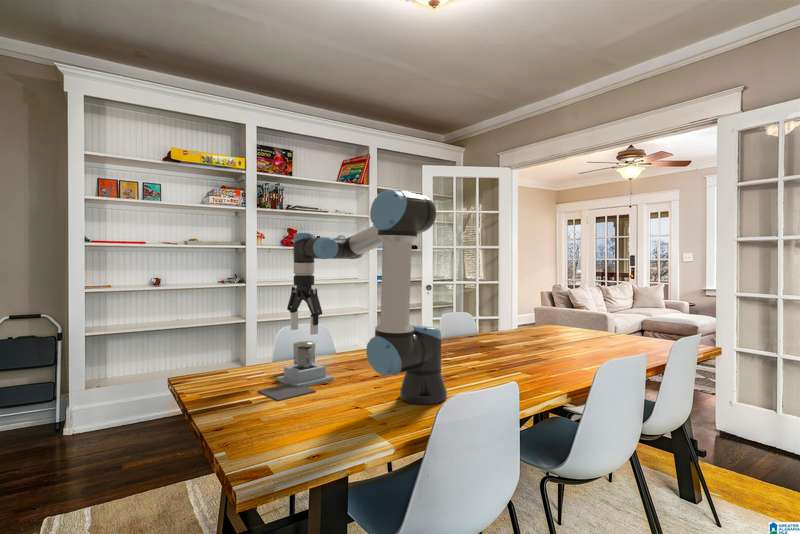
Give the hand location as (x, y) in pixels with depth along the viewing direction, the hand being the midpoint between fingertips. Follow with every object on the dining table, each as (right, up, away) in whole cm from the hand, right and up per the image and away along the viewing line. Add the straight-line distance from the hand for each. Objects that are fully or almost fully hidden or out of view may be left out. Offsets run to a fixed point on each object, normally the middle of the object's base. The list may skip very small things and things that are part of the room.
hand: (304, 331), depth 161 cm
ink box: (-3, -18, +14) cm, 23 cm away
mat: (-3, -18, -14) cm, 23 cm away
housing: (0, -18, 0) cm, 18 cm away
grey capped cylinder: (0, -18, 0) cm, 18 cm away
